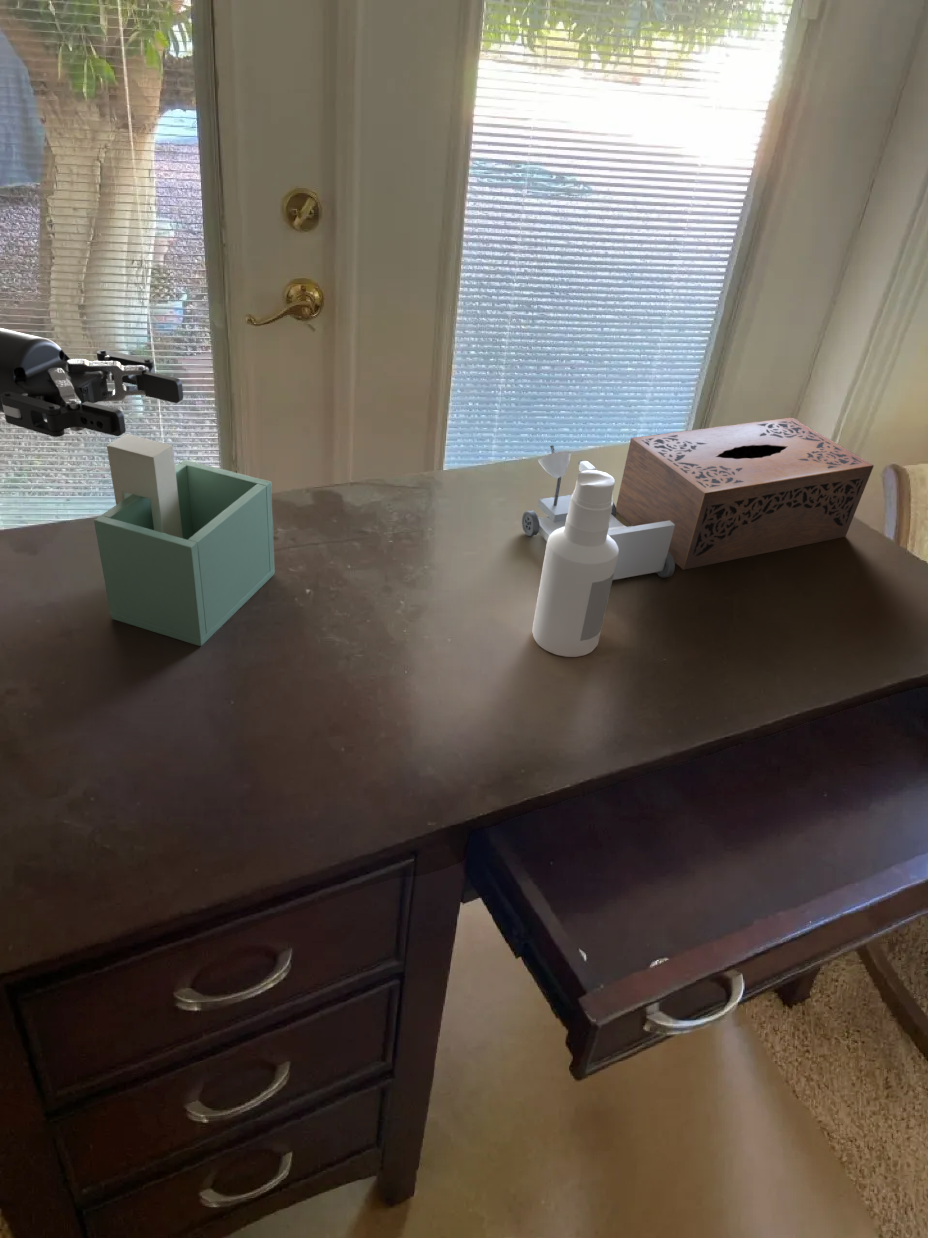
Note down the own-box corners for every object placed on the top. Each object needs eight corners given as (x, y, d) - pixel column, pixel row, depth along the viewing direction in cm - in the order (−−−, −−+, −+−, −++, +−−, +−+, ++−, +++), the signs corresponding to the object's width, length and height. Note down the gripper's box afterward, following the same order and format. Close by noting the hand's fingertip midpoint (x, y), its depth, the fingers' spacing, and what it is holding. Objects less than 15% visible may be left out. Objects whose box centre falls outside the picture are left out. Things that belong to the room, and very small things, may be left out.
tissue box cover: (769, 484, 123) (791, 417, 117) (845, 536, 113) (873, 465, 107) (615, 510, 113) (631, 437, 107) (683, 569, 103) (705, 493, 97)
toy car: (520, 444, 103) (605, 434, 108) (510, 517, 109) (591, 506, 113) (600, 519, 90) (692, 505, 95) (584, 598, 96) (671, 581, 100)
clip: (183, 545, 89) (172, 445, 83) (166, 560, 87) (153, 457, 80) (141, 533, 90) (126, 433, 84) (122, 547, 88) (106, 445, 81)
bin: (201, 647, 84) (190, 547, 77) (110, 618, 86) (93, 519, 79) (275, 574, 95) (271, 481, 88) (193, 550, 97) (183, 458, 90)
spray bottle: (608, 655, 88) (646, 495, 78) (543, 661, 87) (573, 498, 76) (584, 615, 94) (617, 460, 83) (523, 620, 92) (548, 462, 81)
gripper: (-69, 353, 75) (94, 392, 71) (49, 310, 86) (194, 342, 83) (-47, 435, 79) (107, 476, 76) (62, 384, 90) (201, 418, 87)
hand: (152, 406), depth 79 cm, fingers open, 8 cm apart
